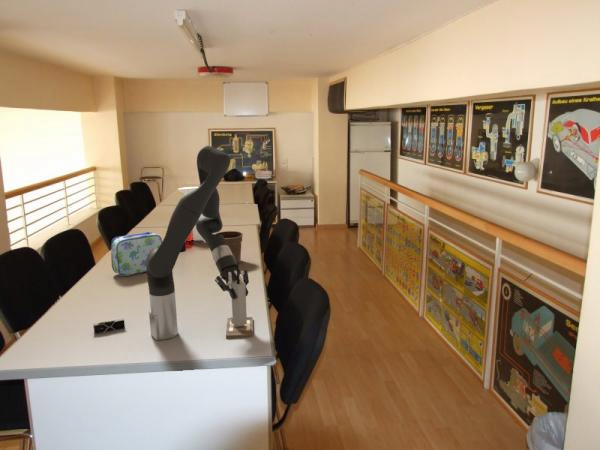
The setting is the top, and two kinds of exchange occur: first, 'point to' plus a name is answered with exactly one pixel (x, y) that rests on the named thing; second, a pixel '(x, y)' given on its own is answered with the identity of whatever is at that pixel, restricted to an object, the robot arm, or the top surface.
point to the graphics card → (109, 326)
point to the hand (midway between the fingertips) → (240, 296)
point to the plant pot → (233, 243)
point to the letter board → (239, 329)
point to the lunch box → (133, 252)
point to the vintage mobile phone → (239, 302)
